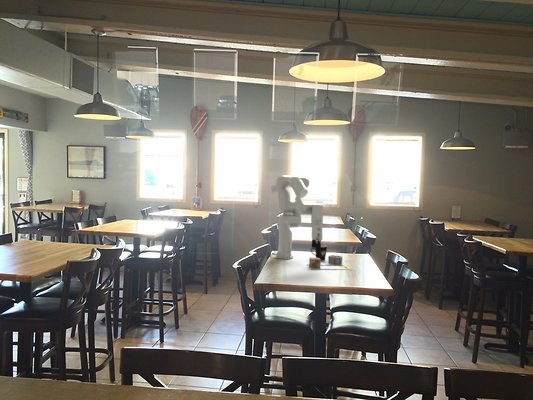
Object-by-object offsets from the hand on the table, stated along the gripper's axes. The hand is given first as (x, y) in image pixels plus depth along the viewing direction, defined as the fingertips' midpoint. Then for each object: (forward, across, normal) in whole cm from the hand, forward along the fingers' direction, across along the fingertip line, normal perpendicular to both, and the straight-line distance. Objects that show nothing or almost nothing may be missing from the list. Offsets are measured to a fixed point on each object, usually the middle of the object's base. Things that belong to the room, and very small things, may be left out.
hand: (316, 248), depth 289 cm
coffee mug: (+12, +29, -10) cm, 33 cm away
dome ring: (+12, +15, -18) cm, 27 cm away
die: (+13, +1, 0) cm, 13 cm away
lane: (+13, +1, -8) cm, 15 cm away
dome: (+12, +15, -18) cm, 26 cm away
